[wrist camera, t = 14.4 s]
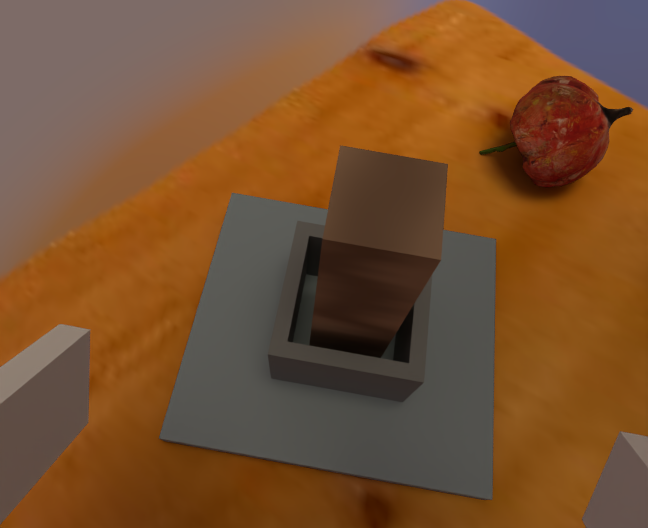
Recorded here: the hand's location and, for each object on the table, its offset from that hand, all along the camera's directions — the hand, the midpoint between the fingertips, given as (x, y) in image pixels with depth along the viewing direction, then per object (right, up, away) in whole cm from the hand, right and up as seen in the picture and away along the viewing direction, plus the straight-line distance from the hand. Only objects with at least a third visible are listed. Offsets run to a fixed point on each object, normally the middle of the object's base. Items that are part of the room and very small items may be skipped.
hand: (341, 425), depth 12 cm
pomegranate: (+15, +12, +26) cm, 32 cm away
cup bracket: (+1, 0, +19) cm, 19 cm away
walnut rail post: (+1, 0, +18) cm, 18 cm away
